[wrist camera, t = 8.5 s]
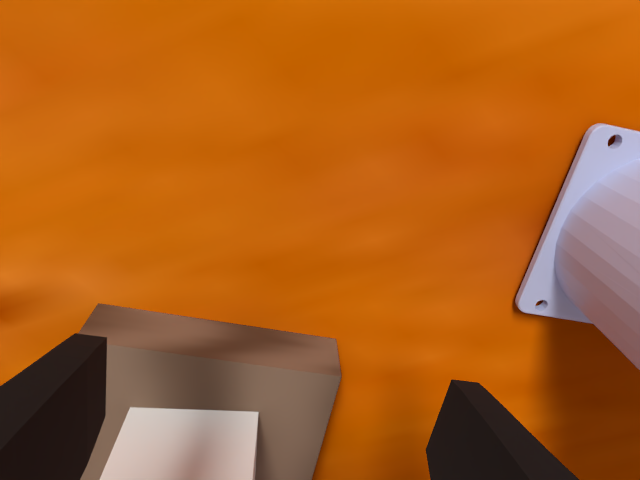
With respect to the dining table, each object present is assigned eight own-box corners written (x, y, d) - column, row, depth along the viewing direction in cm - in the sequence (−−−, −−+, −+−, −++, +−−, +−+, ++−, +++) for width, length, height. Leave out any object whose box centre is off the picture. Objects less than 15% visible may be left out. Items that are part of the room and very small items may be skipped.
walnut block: (335, 331, 22) (341, 376, 19) (292, 488, 26) (292, 544, 23) (102, 297, 21) (74, 339, 18) (94, 468, 25) (70, 524, 22)
